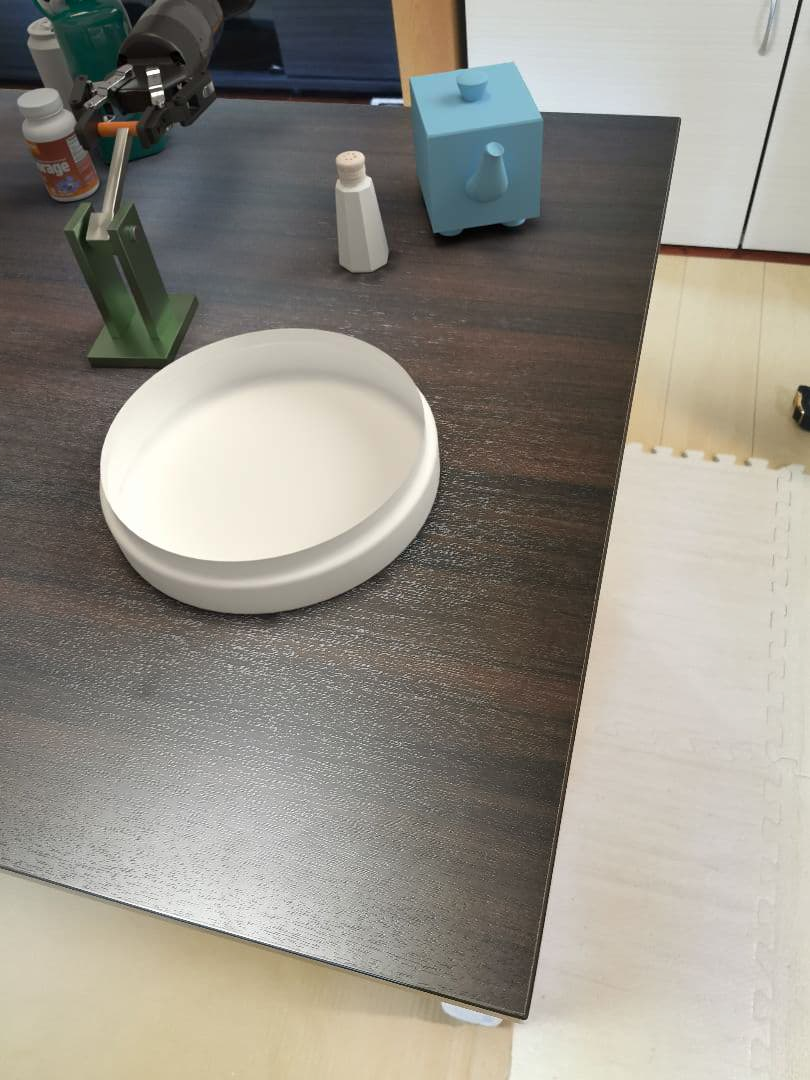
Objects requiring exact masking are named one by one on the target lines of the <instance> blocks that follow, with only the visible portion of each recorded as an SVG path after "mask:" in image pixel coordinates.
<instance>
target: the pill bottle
mask: <svg viewBox="0 0 810 1080" xmlns="http://www.w3.org/2000/svg"><path fill="white" fill-rule="evenodd" d="M16 104H17V107H18V109H19V112H20V114H21V115H22V117H23V118H25V119H23V122H22V124H21V131H22V134H23V137H24V139H25V141H26V143H27V146H28V148H29V150H30V153H31V155H32V157H33V159H34V162H35V165H36V166H37V169H38V171H39V173H40V176H41V178H42V180H43V183H44V185H45V187H46V190H47V192H48V193H49V196H50V197H51V198H52V199H53V200H55V201H58V202H63V203H64V202H66V203H67V202H75V201H76V202H77V201H80V200H83V199H86V198H89V197H90V196H92V195H93V194H94V193H95V192H96V191H97V190H98V188H99V186H100V179H99V177H98V173H97V171H96V169H95V166H94V163H93V161H92V158H91V156H90V151H84V149H83V148H82V145H80V144H79V141H78V139H77V137H76V134H75V132H74V126H75V125H76V124H77V122H76V120H75V117H74V115H73V114H72V113H71V112H70V111H68V110H66V109H63V103H62V100H61V98H60V96H59V93H58V92H57V91H56V90H55V89H51V88H45V87H41V88H35V89H32V90H29V91H27V92H24V93H22V94H21V95H20V96H19V97H18V98H17V100H16Z"/></svg>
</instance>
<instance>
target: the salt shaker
mask: <svg viewBox="0 0 810 1080" xmlns="http://www.w3.org/2000/svg"><path fill="white" fill-rule="evenodd" d="M365 161H366V157H365V154H363V153H362V152H361V151H357V150H347V151H344V152H341V153H340V154H338V155H337V156H336V158H335V165H336V167H337V174H338V176H339V177H338V178H337V180H336V184H335V187H334V188H335V189H334V190H335V211H336V227H337V228H336V229H337V230H336V231H337V246H338V247H337V248H338V260H339V265H340V266H341V267H342V268H344V269H345V270H347V271H348V272H350V273H354V274H356V273H357V274H358V273H359V274H360V273H372V272H375V271H376V270H378V269H379V268H381V267H384V266H385V265H386V264H387V263H388V259H389V251H390V250H389V246H388V240H387V237H386V233H385V229H384V224H383V220H382V216H381V211H380V207H379V203H378V198H377V195H376V190H375V186H374V182H373V179H372V177H370V176H369V175H367V173H366V171H367V170H366V164H365Z"/></svg>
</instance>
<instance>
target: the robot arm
mask: <svg viewBox="0 0 810 1080" xmlns="http://www.w3.org/2000/svg"><path fill="white" fill-rule="evenodd" d="M256 3H257V0H155V1H154V3H153V4H152V5H151V6H149V7H148V8H147V9H146V10H145V11H144V12H143V13H142V15H141V16H140V17H139V19H138V20H137V21H136V23H135V25H133V27H132V30H131V31H130V33H129V34H128V36H127V37H126V38H125V40H124V41H123V43H122V44H121V46H120V49H119V52H118V57H117V64H116V69H115V70H114V71H112V72H110V73H109V74H107V75H106V77H105V80H104V81H100V82H93V83H92V82H91V80H89V78H88V76H87V75H79V76H78V77H76V79H75V82H74V85H73V89H72V92H71V95H70V98H69V102H68V103H69V105H70V108H71V110H72V113H73V115H74V117H75V120H76V122H77V124H76V125H75V126H74V132H75V134H76V137H77V139H78V141H79V144H80V145H82V148H83V149H84V151H88V152H90V151H91V152H92V151H93V152H94V150H95V148H96V147H97V144H98V142H99V141H100V139H101V138H102V136H100V134H99V132H98V123H100V122H126V121H127V120H128V119H130V118H131V117H132V116H134V115H135V114H136V113H138V114H140V113H142V112H144V113H143V115H142V117H141V118H140V120H139V121H138V123H137V125H136V132H137V135H138V138H139V140H140V143H141V146H142V148H143V149H152V148H153V146H154V144H155V143H157V142H159V141H160V140H161V138H162V136H163V134H164V133H165V134H166V132H167V131H169V130H172V129H173V128H174V124H178V123H179V125H180V126H181V127H184V128H185V127H186V128H187V127H190V126H193V124H194V123H195V122H196V121H197V120H198V119H199V118H200V117H201V116H202V115H203V113H205V112H206V110H207V109H209V108H210V106H211V105H212V104H213V103H214V102H215V101H216V100H217V98H218V97H217V93H216V91H215V86H214V82H213V78H212V75H211V71H210V70H209V69H208V67H209V64H210V61H211V58H212V55H213V53H214V51H215V50H216V47H217V46H218V44H219V42H220V41H221V38H222V35H223V31H224V26H225V22H226V21H228V20H230V19H232V18H233V19H234V18H236V17H237V16H239V15H243V14H244V13H246V12H249V11H250V10H251V9H253V7H254V6H255V4H256ZM101 106H103V108H104V110H105V116H104V117H102V114H101V112H100V109H99V108H100V107H101ZM119 109H120V110H119Z"/></svg>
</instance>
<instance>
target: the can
mask: <svg viewBox="0 0 810 1080" xmlns="http://www.w3.org/2000/svg"><path fill="white" fill-rule="evenodd" d="M26 31H27V34H29V37H28V39H27V42H26V44H27V47H28V50H29V52H30V54H31V56H32V60H33V62H34V64H35V67H36V69H37V71H38V74H39V77H40V79H41V82H42V83H43V86H44V88H51V89H55V90H56V91H57V92H58V93H59V96H60V98H61V100H62V103H63V109H66V110H68V111H70V112H71V113H72V110H71V108H70V105H69V103H68V102H69V98H70V95H71V92H72V89H73V85H74V84H73V81H72V79H71V76H70V73H69V71H68V68H67V66H66V63H65V60H64V58H63V55H62V52H61V50H60V47H59V44H58V42H57V39H56V37H55V34H54V31H53V29H52V26H51V23H50V21H49V19H48V18H47V17H45V16H44V17H42V18H39V19H37V20H34V21H32V23H30V24H29V25H28V27H27V29H26ZM72 114H73V113H72Z"/></svg>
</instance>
